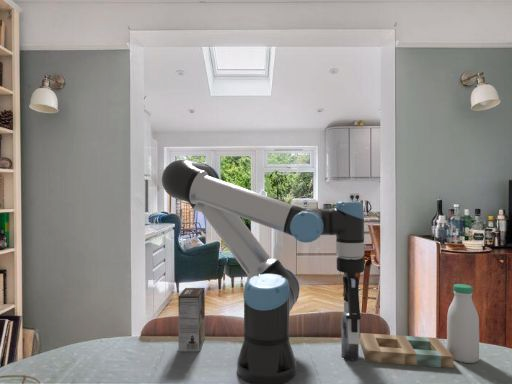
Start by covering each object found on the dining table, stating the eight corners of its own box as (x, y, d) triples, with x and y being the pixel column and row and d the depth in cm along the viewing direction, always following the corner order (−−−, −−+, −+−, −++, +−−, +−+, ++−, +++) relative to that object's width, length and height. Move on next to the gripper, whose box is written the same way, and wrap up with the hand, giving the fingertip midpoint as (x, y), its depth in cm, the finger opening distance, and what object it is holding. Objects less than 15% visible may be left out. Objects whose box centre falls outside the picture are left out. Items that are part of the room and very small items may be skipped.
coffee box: (184, 338, 110) (184, 287, 110) (205, 338, 110) (205, 287, 110) (177, 351, 101) (177, 295, 101) (200, 351, 101) (200, 296, 101)
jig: (365, 361, 95) (365, 350, 95) (360, 342, 107) (360, 332, 107) (453, 368, 91) (453, 356, 91) (437, 348, 103) (437, 337, 103)
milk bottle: (484, 365, 93) (484, 290, 93) (452, 362, 95) (452, 288, 95) (472, 352, 101) (472, 282, 101) (443, 350, 102) (443, 281, 102)
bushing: (342, 360, 96) (342, 316, 96) (340, 352, 100) (340, 310, 100) (359, 361, 95) (359, 317, 95) (357, 353, 100) (357, 311, 100)
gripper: (371, 266, 85) (372, 354, 85) (358, 249, 109) (359, 317, 109) (339, 265, 86) (340, 352, 86) (334, 249, 111) (334, 316, 111)
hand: (351, 333), depth 98 cm, fingers open, 13 cm apart
